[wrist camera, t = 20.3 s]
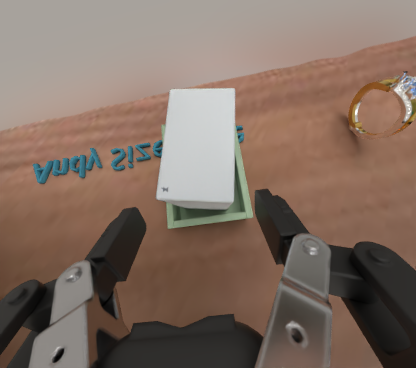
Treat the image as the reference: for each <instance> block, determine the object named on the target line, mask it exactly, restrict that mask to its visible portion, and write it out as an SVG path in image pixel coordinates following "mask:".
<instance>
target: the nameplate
mask: <svg viewBox="0 0 416 368" xmlns="http://www.w3.org/2000/svg"><path fill="white" fill-rule="evenodd" d="M242 129H243V128H242V126H236V130H242ZM237 135H238V137H240V138H239V143H240V142H242V141H243V140H244V133H238V134H237ZM161 144H162V140H159V141H158V142H156V143H154V146H153V152H154V154H155V156H158V157H161V156H162V149H163V147H161V148H159V146H160V145H161ZM148 146H150V143H144V144H139V145H135V147H136V148H137V149H138V150H139V151H140V152H141V153H142V154H143V155H145V157H139V158H136V160H137V161H141V160H147V159H151V157H150V156H149V155H148V154H147V153H146V152H145V151H144V150H143V149H142V148H143V147H148ZM90 150H91V152H92V153H91V156H90V158H89V161H88V163H87V166H86V156H85V155H80V157H78V156H74V157H73V158H71V160H70V163H69V159H68V158H63V164H62V170H61V171H59V168H60V161H59V160H54V161H47V164H46V166H45V167H43V168H40V165H39V164H33V167H34V171H35V174H36V178H37V182H38V183H40V184H41V183H45V182H46V180H47V178H48V176H49V173H50V171H51V169H52V167H53V172H52V175H54V176H57V175H59V173H60V174H62V175H64V174H66V173H67V172H68V169H69V165H70V169H71V170H72V171H75V172H79V177H80V178H84V177H85V169H86V170H91V169H92V167H93V164H94V161H95V162H96V165H97V167H98V168H102V165H101V163H100V160H99V158H98V155H97V153H96V150H95V149H94V148H90ZM119 151H120V152H121V153H120V155H119V156H118V157H117V158H116V159H114V160H113V161H112V163H111V166H112V168H113V169H114V170H122V169H125V166H124V165H122V166H119V167H116V165H117V164H118V163H119V162H120V161H121V160H122V159H123V158H125V155H126V154H125V152H124V150H123V149H118V148H115V149H112V150H111V153H112V154H115V153H117V152H119ZM159 151H161V153H160V154H159V153H158V152H159ZM78 160H80V167H78V168H76V166H75V165H76V163H77V162H78ZM128 161H129V162H133V148H132V146H128ZM128 166H129V168H133V164H128ZM41 171H43V172H41Z"/></svg>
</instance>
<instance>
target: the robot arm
mask: <svg viewBox="0 0 416 368" xmlns="http://www.w3.org/2000/svg"><path fill="white" fill-rule="evenodd" d="M255 214H256V217H257V220H258V222H259V225H260V227H261V229H262V232H263V234H264V236H265V239H266V241H267V243H268V246H269V248H270V251H271V253H272V255H273V258H274V260H275V262H276V265H277V264H283V265H284V267H285V268H284V271H283V275H282V278H281V280H280V283H279V286H278V289H277V293H276V296H275V300H274V303H273V307H272V310H271V313H270V317H269V320H268V324H267V327H266V331H265V334H264V337H263V336H262V335H260V334H259V333H258V332H257V331H255V330H254V329H253V328H251V327H249V326H248V325H245V324H243V323H241V322H237V321H235V319H234V314H228V315H217V316H208V317H206V318H203V319H201V320H199V321H197V322H194V323H192V324H190V325H188V326H185V327H183V328H179V327H176V326H172V325H169V324H165V323H162V322H158V321H154V322H143V323H133V326H132V329H131V333H129V330H128V328H127V327H126V325H125V323H124V321H123V317H122V312H121V308H120V303H119V299H118V294H117V290H116V288H115V285H116V282H120V281H126V279H127V276H128V274H129V271H130V269H131V266H132V264H133V261H134V259H135V257H136V254H137V252H138V249H139V247H140V244H141V242H142V240H143V237H144V235H145V232H146V223H145V221H144V219H143V217H142V215H141V214H140V212H139V210H138V208H136V207H133V208H126V209H123V210H122V212H121V213H120V215H119V216H118V217H117V218H116V219H114V220H113V221H112V222H111V223H110V224H109V226H108V227H107V228H106V230H105V232H104V233H103V234H102V235H101V237H100V238H99V240H98V241H97V243H96V244H95V245H94V247H93V248H92V250H91V251H90V252H89V254H88V255H87V257H86V258H85V260H83V261H79V262H77V263H75V264H73V265H71V266H70V267H69V268H67V269H66V270H65V271H64V272H63V273H62V274H61V275H60V277H59V278H58V279H55V280H53V281H50V282H48V283H46V284H42V283H40V282H39V281H37V280H29V281H27V282H24V283H22V284H21V285H19V286H17V287H16V288H15V289H13V290H12V291H11V292H9V293H8V294H7V295H6V296H5V297H4V298H3V299H2V300H1V301H0V355H1V354H2V352H3V351H4V350H5V348H6V347H7V345H8V344H9V343H10V341H11V340H12V339H13V337H14V336H15V335H16V333H17V332H18V330H19V329H20V328H21V326H23V327H25V328H28V329H30V330H32V331H31V332H30V334H29V335H28V337H27V338H26V340H25V341H24V343H23V344H22V346H21V347H20V349H19V350H18V352H17V353H16V354H15V356H14V357H13V359H12V360H11V362H10V363H9V365H8V366H7V368H330V353H331V330H332V306H331V304H330V303H329V301H328V294H331V295H335V296H339V297H341V298H342V300H343V302H344V303H345V305H346V307H347V308H348V310H349V312H350V313H351V315H352V316H353V318H354V320H355V321H356V323H357V325H358V326H359V328H360V330H361V331H362V333H363V335H364V336H365V338H366V339H367V341H368V343H369V344H370V346H371V348H372V349H373V351H374V353H375V354H376V356H377V357H378V359H379V361H380V362H381V364H382V366H383V367H384V368H416V271H415V270H414V269H413V268H412V267H411V266H410V265H409V264H408V263H407V262H405V261H404V260H403V259H402V258H401V257H400V256H399V255H397V254H396V253H395V252H393V251H392V250H390V249H389V248H387V247H385V246H382V245H380V244H377V243H373V242H359V243H357V244H356V245H355V246H354V248H346V247H339V246H333V245H329V244H327V243H326V242H325V241H323V240H322V239H321V238H319V237H317V236H315V235H312V234H310V233H309V232H308V231H307V229H306V228H305V227H304V225H303V224H302V223H301V221H300V220H299V218H298V217H297V216H296V214H295V213H294V212H293V210H292V209H291V208H290V207H289V205H288V204H287V202H286V201H285V200H284V199H282V198H281V197H279V196H278V195H276V196H272V194H271V193H270V191H269V190H268V189H262V190H256V191H255Z"/></svg>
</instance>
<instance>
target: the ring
mask: <svg viewBox="0 0 416 368" xmlns="http://www.w3.org/2000/svg"><path fill="white" fill-rule="evenodd" d="M406 73H407V71H405V72H403V73H402V74H401V75H397V76H391V77H387V78H383V79H381V80H378V81H376V82H372V83H369V84H367V85H365V86H364V87H363V88H361V89H360V90H359V92H358V93H357V94H356V96H355V97H354V99H353V101H352V103H351V105H350V109H349V115H348V119H349V129H350V130H352V131H353V132H354V134H356V135H357V136H358V137H360V138H363V139H379V138H384V137H388V136H391V135H394V134H396V133H398V132H400V131H402V130H403V129H405V128H406V127H407V126H409V125H410V124H411V123H412V122H413V121H414V119H415V118H416V77H411V76H409V75H405V74H406ZM390 82H394V84H392V83H390ZM373 89H379V90H383V91H386V92H389V91H391V93H392V94H393V95H394V96H395V97H396V98H397V100H398V102H399V104H400V106H401V114H400V116H399V118H398V120H397V121H396V122H395V123H394V124H393V125H392V126H391V127H390V128H389V129H388V130H386V131H384V132H383V133H379V134H372V133H368V132H366V131H364V130H363V129H362V128H361V126H362V124H361V122H358V118H357V113H358V108H359V106H360V103H361V102H362V100H363V99H364V97H365V96H366V95H367V94H368V93H369V92H370V91H372V90H373Z"/></svg>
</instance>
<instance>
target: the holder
mask: <svg viewBox="0 0 416 368" xmlns="http://www.w3.org/2000/svg"><path fill="white" fill-rule="evenodd" d="M165 125H166V124H165ZM165 125H161V128H162V144H163V141H164V133H165ZM166 207H167V223H168V229H170V228H178V227H186V226H193V225H201V224H209V223H216V222H224V221H232V220H240V219H246V218H253V212H252V207H251V202H250V197H249V192H248V187H247V181H246V176H245V171H244V166H243V161H242V156H241V150H240V145H239V140H238V135H237V130H236V125H235V180H234V202H233V203H232V204H231V205H230V206H229V208H228V209H227V210H226V211H222V210H200V209H185V208H183V207H180V206H177V205H173V204H171V203H168V202H166Z"/></svg>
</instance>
